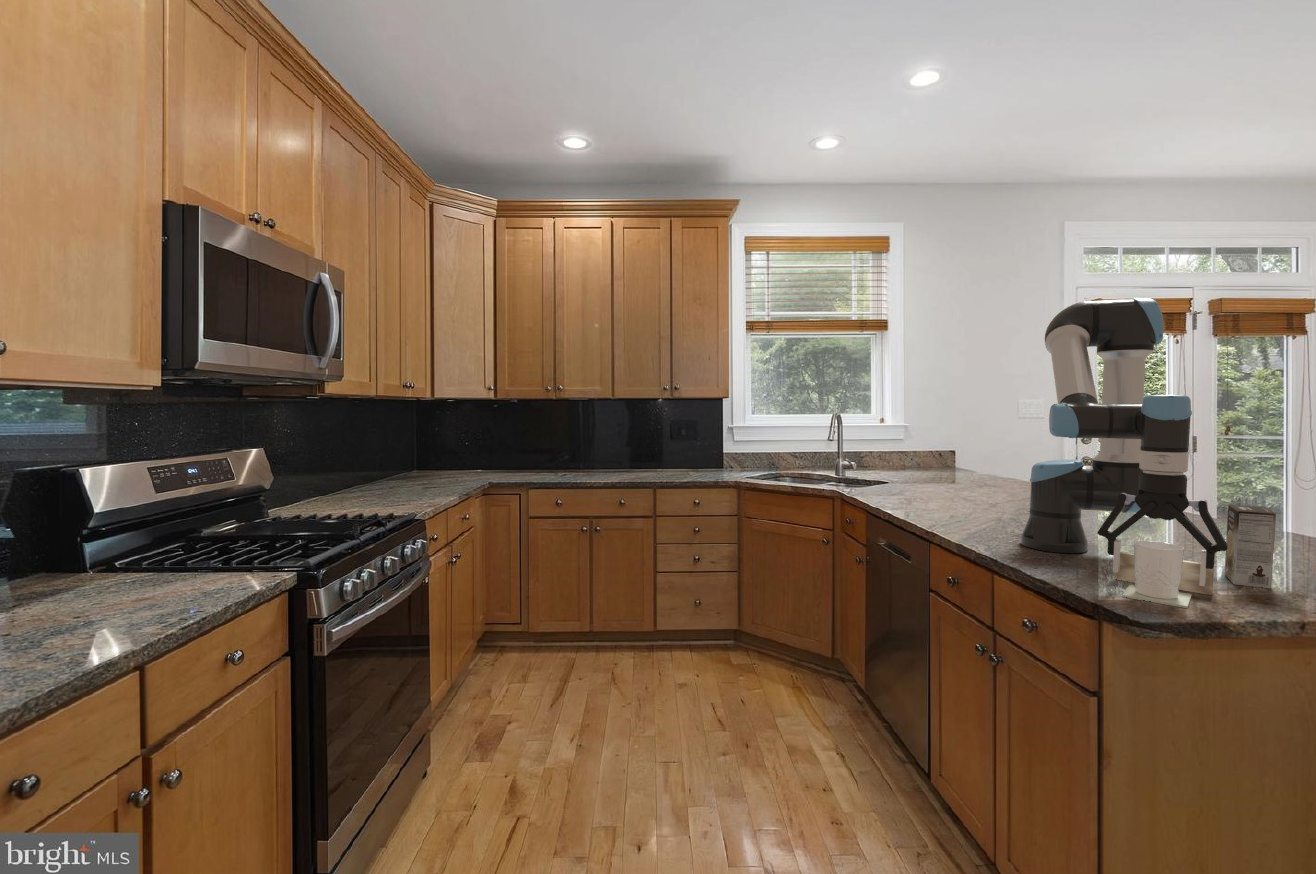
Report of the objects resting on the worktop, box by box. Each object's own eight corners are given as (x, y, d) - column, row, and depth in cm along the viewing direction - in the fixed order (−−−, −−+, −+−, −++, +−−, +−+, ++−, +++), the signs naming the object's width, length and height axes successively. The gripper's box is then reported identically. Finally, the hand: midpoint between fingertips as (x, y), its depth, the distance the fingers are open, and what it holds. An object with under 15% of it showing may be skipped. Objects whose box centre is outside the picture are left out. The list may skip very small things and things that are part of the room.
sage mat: (1122, 596, 126) (1122, 595, 126) (1129, 586, 133) (1129, 584, 133) (1187, 608, 119) (1187, 606, 119) (1191, 596, 127) (1191, 594, 127)
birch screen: (1115, 579, 138) (1116, 552, 138) (1116, 578, 139) (1117, 551, 139) (1212, 595, 127) (1213, 565, 127) (1212, 593, 128) (1214, 564, 128)
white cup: (1162, 602, 122) (1165, 551, 121) (1122, 590, 129) (1124, 542, 129) (1191, 598, 124) (1194, 548, 123) (1150, 587, 132) (1152, 539, 131)
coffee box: (1222, 574, 142) (1226, 504, 141) (1261, 578, 139) (1265, 506, 138) (1232, 584, 134) (1236, 510, 133) (1273, 589, 131) (1278, 513, 130)
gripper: (1084, 469, 131) (1080, 569, 132) (1248, 480, 114) (1241, 595, 115) (1091, 466, 136) (1087, 562, 138) (1249, 476, 119) (1242, 586, 120)
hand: (1157, 577), depth 126 cm, fingers open, 13 cm apart
